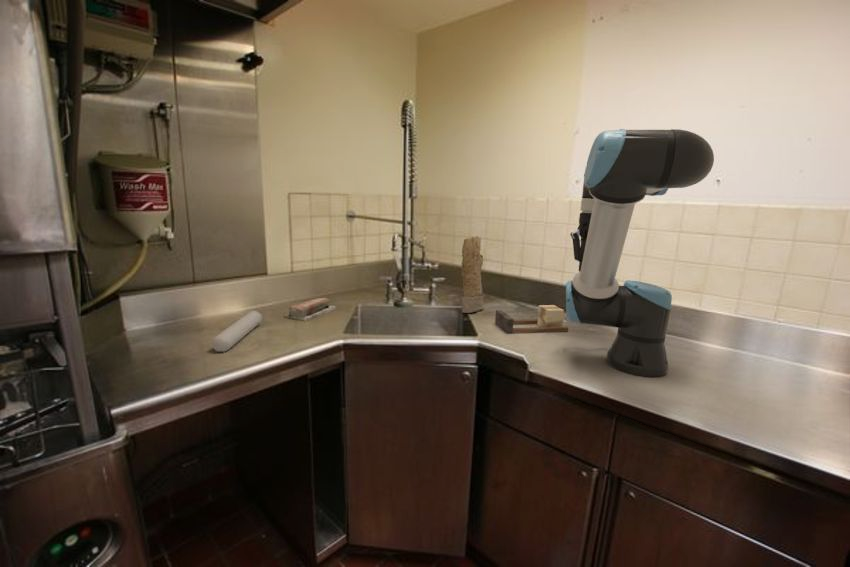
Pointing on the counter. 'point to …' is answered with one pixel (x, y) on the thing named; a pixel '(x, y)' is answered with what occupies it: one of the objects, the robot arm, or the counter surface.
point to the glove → (472, 275)
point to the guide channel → (508, 322)
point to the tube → (236, 331)
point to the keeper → (550, 316)
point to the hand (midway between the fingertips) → (583, 281)
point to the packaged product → (310, 309)
